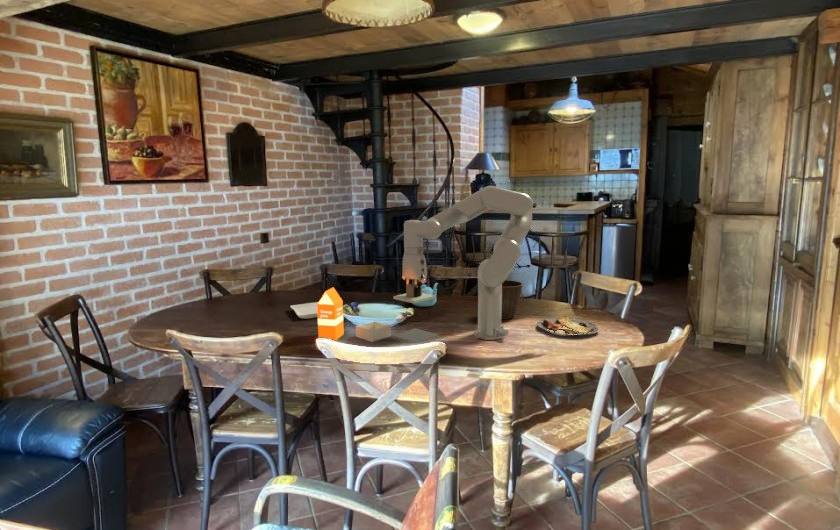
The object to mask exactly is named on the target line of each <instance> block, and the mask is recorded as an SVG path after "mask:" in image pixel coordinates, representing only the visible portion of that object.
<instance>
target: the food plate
mask: <svg viewBox="0 0 840 530" xmlns="http://www.w3.org/2000/svg"><path fill="white" fill-rule="evenodd" d="M536 325H537V327H539V328H541V329H542V330H544V331H545V332H546V333H549V332H550V331H549V330H553V331H557V330H563V331H565V332H566V333H568V334H573V335H572V336H571V337H575V336H574V334H577V335H579V336H586V335H593V334H596V333H598V332H599V331H600V328H599V327H598V325H596V324H595V323H593V322H589V321H585V320H583V319H578V318H569V317H568V316H567V315H563V316H562V317H550V318H544V319H541V320H539V321H537V323H536ZM563 326H565V327H567V328H569V329H572V330H569V329H561V328H563ZM547 329H549V330H548V331H547ZM573 330H575V331H577V332H580V333H583V334H579V333H577V332H575V331H573ZM589 332H591V333H589ZM566 333H565V334H564V333H560V334H559V333H556V332H555V333H554V332H550V334H552V335H557V336H563V337H564V336H565V337H570V336H569V335H568V334H566ZM584 333H586V334H584ZM567 335H568V336H567Z"/></svg>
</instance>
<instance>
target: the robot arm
mask: <svg viewBox="0 0 840 530" xmlns="http://www.w3.org/2000/svg"><path fill="white" fill-rule="evenodd" d="M533 206H534V202H533V199H532V197H531V196H529V194H527V193H524V192H523V193H522V192H518V191H514V190H509V189H505V188H503V187H498V186H495V185H487V186H485V187H483V188H481V189H479V190H478V191H476V192H474V193H472V194H471V195H469V196H467V197H465V198H463V199H461V200H460V201H458V202H456V203H454V204H453V205H451V206H450V207H447V208H445V209H444V210H442V211H440V212H438V213H437V214H435V215H433V216H432V217H429V218H428V219H426V220H425V221H422V220H421V219H420V220H419V219H409V220H405V221H404V222H403V248H404V249H403V250H404V252H403V257H402V266H401V267H402V270H401V271H402V274H401V275H402V276H401V279H403V280H404V282H405V284H406V285H407V284H412V283H415V287H414V297H419V296H421V287H422V285H424V284H425V283H427V278H428V277H427V276H428V272H427V271H428V269H427V260H426V257H425V254H424V252H425V249H424V239H427V240H435V239H438V238H439V237H440V236H441V235H442V234H443V232H445V231H447V230H448V229H450V228H452V227H455V226H456V225H460V224H463V223H467V222H469V221H471V220H473V219H474V218H477V217H479V216H480V215H482V214H484V213H486V212H488V211H489V210H495V211H498V212H503V213H508V214H510V219H509V220H508V223H507V224H506V226H505V228H504V230H503V231H502V233H501V235H500V236H499V237H498V238H497V240H496V242H495V244H494V245H493V253H492V254H491V256H490V258H487V259H484V260H483V261H481V263H480V264H479V265H478V268H477V290H478V291H477V296H478V298H477V330H474V332H473V336H474V337H475V338H477V339H480V340H487V341H495V340H501V339H504V338H505V337H507V336H508V334H509V330H508V329H504V328H505V327H504V325H503V324H502V319H501V313H502V283H503V282H504V281H505V280H507V279H508V276H509V275H510V274H511V272H512V270H513V269H514V267H515V266H516V264H517V262H518V261H519V259H520V257H521V253H522V252H521V251H522V249H521V245H522V243H523V241H524V240H525V238H526V236H527V234H528V233H529V231H530V229H531V226H532V223H533V211H532V210H533V208H534V207H533ZM406 285H405V286H406Z"/></svg>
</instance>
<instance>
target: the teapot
mask: <svg viewBox="0 0 840 530" xmlns="http://www.w3.org/2000/svg"><path fill="white" fill-rule="evenodd" d="M438 284H439V283H438V282H435V283H434V285H433V287H430V286H427V284H423V285H422V293H424V294H429V295H433V296H435V298H434V299H430V300H426V301H422V302H418V303H412V305H413V306H415V307H425V308H426V307H431V306H434V305H435V304H436V303H437V293H438V292H437V291H438V290H439V289H438V288H437V286H438Z"/></svg>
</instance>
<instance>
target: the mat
mask: <svg viewBox="0 0 840 530" xmlns="http://www.w3.org/2000/svg"><path fill="white" fill-rule="evenodd" d="M436 336H439V334H437V333H435V332H431V331H427V330H422V329H420V328H416V327H414V328H411V329H408V330H405V331H402V332H398V333H395V334H391V337H395V338H398V339H402V340H405V341H409V342H412V343H419V342H421V341H425V340H428V339H431V338H434V337H436Z"/></svg>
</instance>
